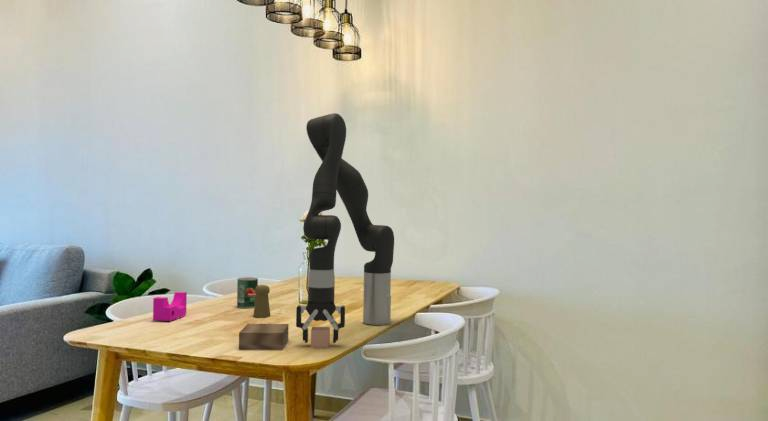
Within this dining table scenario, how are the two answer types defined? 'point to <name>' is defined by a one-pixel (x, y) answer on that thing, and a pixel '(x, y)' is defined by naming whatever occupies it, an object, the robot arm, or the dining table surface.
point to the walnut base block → (263, 337)
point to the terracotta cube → (320, 337)
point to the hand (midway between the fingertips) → (320, 342)
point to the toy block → (170, 307)
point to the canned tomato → (246, 292)
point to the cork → (262, 301)
